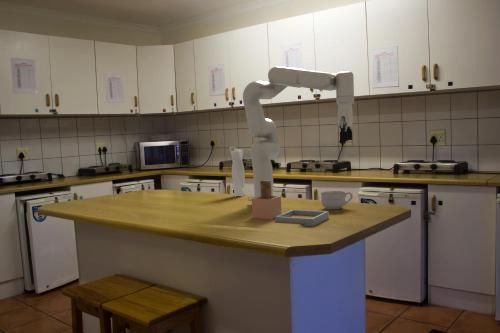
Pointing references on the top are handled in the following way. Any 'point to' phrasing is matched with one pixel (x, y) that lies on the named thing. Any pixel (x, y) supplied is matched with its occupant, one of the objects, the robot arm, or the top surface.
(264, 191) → the dowel pin
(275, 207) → the pink cube box
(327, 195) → the teacup
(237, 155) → the skyscraper
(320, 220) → the tray
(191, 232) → the top surface
